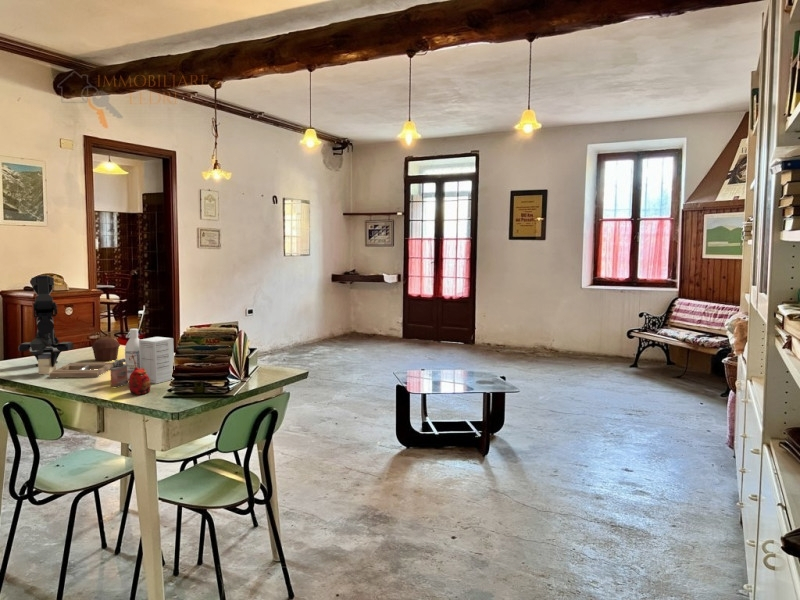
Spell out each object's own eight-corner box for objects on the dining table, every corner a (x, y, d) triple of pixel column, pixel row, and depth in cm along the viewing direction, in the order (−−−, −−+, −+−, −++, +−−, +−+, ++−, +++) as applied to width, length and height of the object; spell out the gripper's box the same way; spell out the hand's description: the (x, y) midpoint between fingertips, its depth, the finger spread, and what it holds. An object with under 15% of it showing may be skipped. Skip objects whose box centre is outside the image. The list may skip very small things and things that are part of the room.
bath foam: (144, 378, 221) (143, 329, 219) (125, 380, 218) (124, 330, 216) (144, 374, 227) (143, 327, 225) (126, 376, 224) (124, 328, 222)
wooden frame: (70, 367, 238) (70, 362, 237) (114, 366, 240) (114, 362, 240) (49, 378, 219) (49, 373, 219) (97, 377, 222) (97, 372, 221)
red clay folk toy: (141, 396, 196) (140, 355, 194) (124, 395, 197) (122, 354, 195) (154, 390, 203) (153, 351, 202) (137, 389, 204) (136, 350, 203)
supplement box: (175, 379, 221) (174, 338, 219) (156, 384, 213) (155, 341, 211) (158, 376, 225) (157, 336, 223) (139, 381, 217) (138, 339, 215)
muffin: (88, 362, 247) (87, 341, 246) (96, 357, 258) (95, 336, 257) (117, 361, 250) (116, 340, 249) (123, 357, 261) (122, 336, 260)
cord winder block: (45, 371, 230) (45, 352, 229) (56, 371, 231) (55, 352, 230) (38, 374, 224) (37, 355, 223) (49, 374, 225) (48, 355, 224)
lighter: (116, 388, 206) (115, 362, 205) (108, 387, 207) (107, 361, 206) (130, 382, 214) (129, 357, 213) (123, 382, 214) (122, 357, 213)
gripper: (10, 333, 216) (12, 371, 218) (60, 332, 219) (62, 371, 221) (24, 328, 227) (26, 365, 229) (73, 328, 230) (74, 364, 232)
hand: (47, 366), depth 227 cm, fingers closed on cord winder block, 4 cm apart
